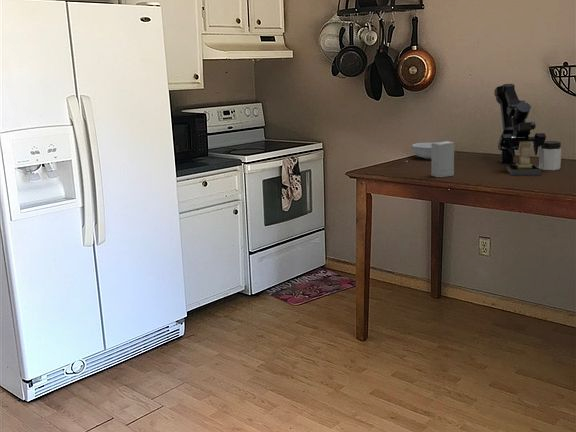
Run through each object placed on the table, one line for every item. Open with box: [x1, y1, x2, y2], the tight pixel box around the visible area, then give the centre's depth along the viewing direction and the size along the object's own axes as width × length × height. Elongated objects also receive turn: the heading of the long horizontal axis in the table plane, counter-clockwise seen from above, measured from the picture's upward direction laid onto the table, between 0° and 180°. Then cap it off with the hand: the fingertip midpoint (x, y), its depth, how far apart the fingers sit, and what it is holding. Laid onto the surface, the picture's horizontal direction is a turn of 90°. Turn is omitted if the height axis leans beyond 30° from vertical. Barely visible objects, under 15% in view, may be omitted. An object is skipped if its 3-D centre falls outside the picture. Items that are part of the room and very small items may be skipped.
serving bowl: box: [411, 142, 433, 160], centre depth 327 cm, size 21×21×7 cm
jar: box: [538, 140, 562, 171], centre depth 285 cm, size 9×8×12 cm
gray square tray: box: [506, 162, 542, 177], centre depth 279 cm, size 12×12×4 cm
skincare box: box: [430, 140, 455, 178], centre depth 278 cm, size 8×6×15 cm
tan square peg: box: [518, 142, 532, 165], centre depth 277 cm, size 4×4×13 cm
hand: (525, 155), depth 276 cm, fingers open, 9 cm apart
